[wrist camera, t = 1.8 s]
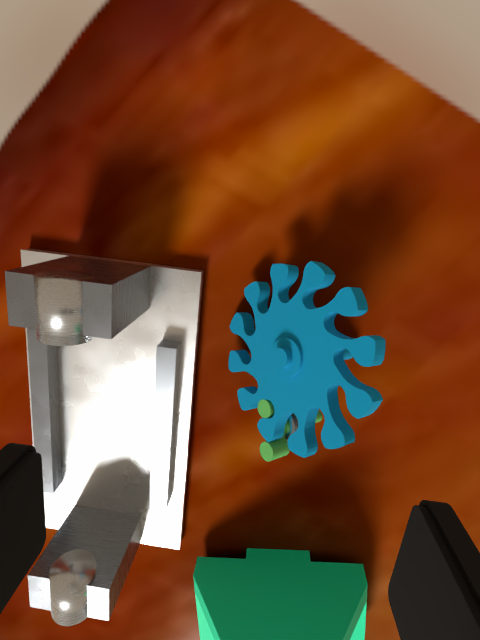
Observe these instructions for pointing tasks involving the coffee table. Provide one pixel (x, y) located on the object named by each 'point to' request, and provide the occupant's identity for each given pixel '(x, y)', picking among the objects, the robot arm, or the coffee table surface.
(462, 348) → the coffee table surface
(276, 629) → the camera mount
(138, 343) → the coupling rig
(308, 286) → the gear
